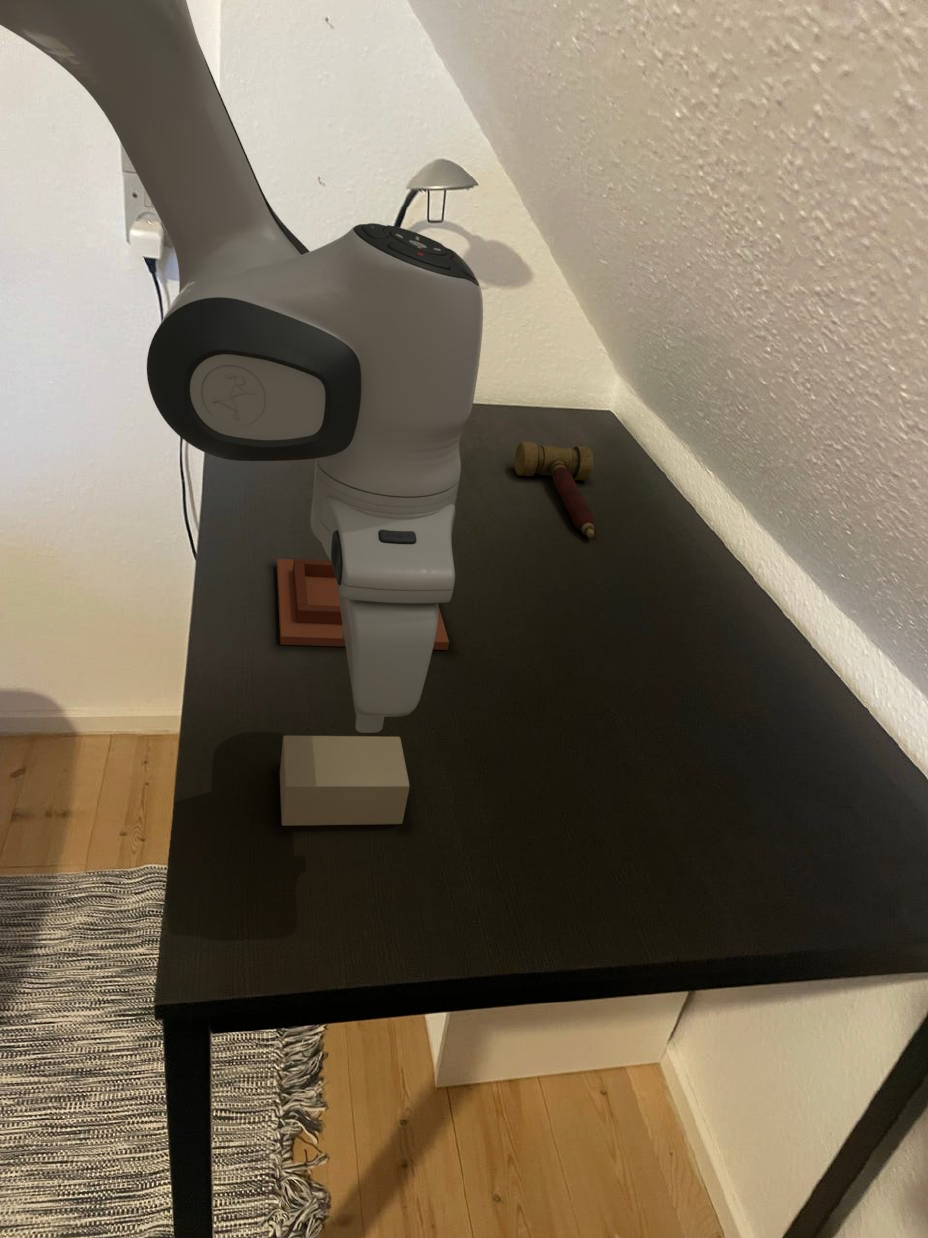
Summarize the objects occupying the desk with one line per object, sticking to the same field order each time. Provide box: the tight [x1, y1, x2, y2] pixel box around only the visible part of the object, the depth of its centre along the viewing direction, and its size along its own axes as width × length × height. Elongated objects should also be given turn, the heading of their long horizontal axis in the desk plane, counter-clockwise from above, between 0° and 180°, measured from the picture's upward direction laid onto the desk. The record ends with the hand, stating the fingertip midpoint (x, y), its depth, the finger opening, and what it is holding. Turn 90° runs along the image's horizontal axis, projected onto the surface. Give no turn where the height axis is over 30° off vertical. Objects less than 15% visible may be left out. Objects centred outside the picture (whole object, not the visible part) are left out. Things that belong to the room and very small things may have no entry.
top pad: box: [279, 735, 411, 827], centre depth 71 cm, size 9×6×4 cm, turn 100°
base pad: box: [276, 558, 450, 651], centre depth 95 cm, size 16×14×2 cm
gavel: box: [514, 441, 595, 539], centre depth 124 cm, size 21×5×10 cm
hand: (360, 682), depth 66 cm, fingers open, 8 cm apart
